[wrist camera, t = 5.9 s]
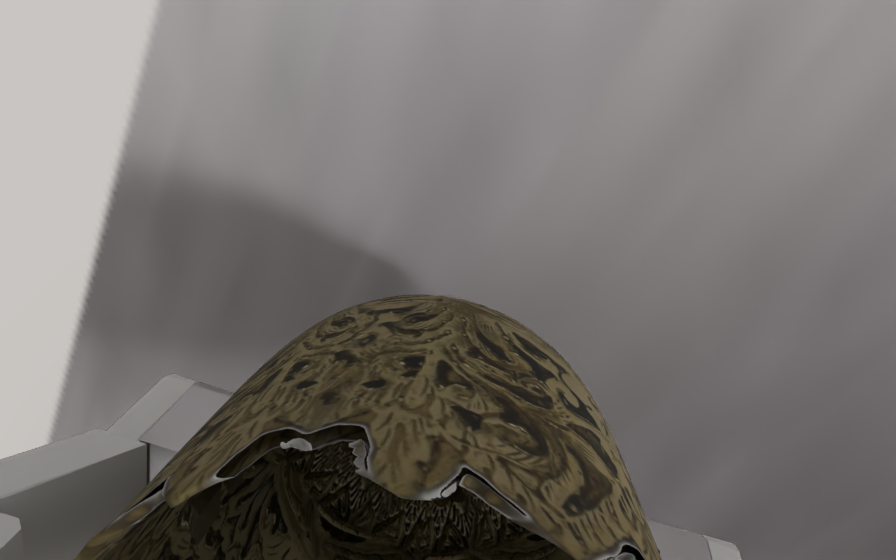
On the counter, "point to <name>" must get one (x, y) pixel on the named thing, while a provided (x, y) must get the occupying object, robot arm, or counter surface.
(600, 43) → the counter surface
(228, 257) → the counter surface
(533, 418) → the bronze rounded piece
